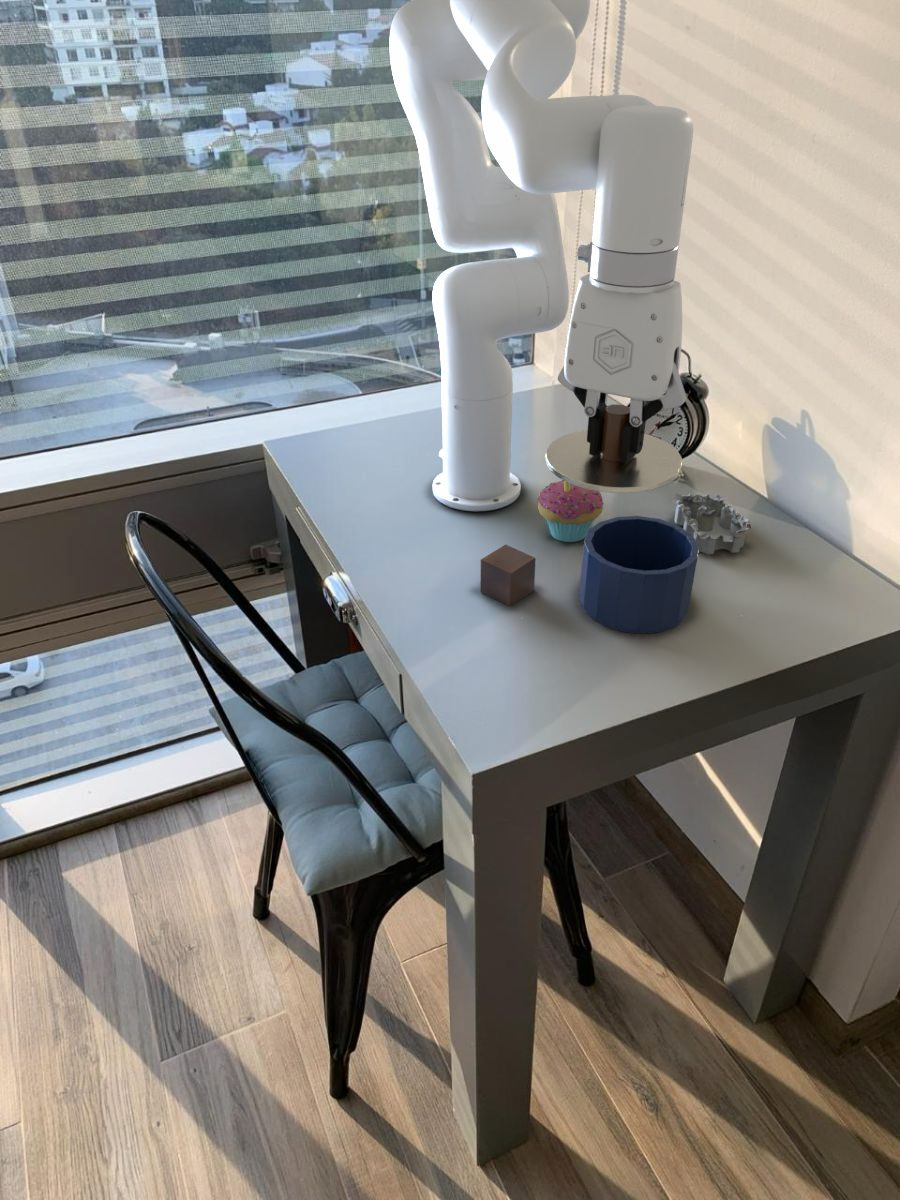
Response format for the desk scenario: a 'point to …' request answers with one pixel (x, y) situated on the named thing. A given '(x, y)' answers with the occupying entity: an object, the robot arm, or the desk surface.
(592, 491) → the cupcake
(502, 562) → the block
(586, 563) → the blue bowl
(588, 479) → the lid
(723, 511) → the egg carton
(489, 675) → the desk surface
